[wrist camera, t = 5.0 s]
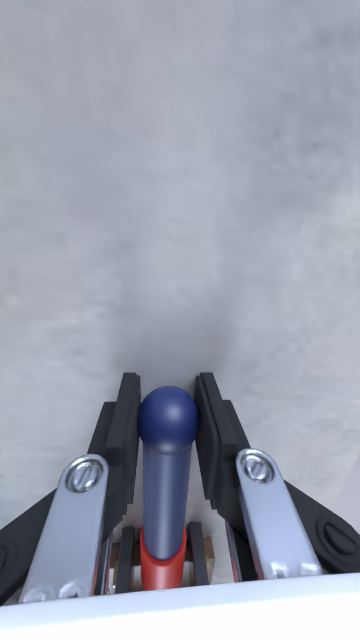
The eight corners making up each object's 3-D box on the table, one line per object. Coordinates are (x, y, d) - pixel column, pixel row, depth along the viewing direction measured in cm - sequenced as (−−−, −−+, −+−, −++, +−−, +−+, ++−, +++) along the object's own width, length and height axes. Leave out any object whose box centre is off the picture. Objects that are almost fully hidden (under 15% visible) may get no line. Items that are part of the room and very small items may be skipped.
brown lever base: (108, 528, 15) (84, 666, 10) (213, 521, 15) (237, 647, 11) (116, 604, 18) (101, 731, 14) (201, 596, 19) (214, 714, 14)
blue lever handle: (139, 374, 10) (132, 419, 8) (197, 374, 11) (208, 417, 8) (141, 544, 15) (137, 606, 13) (181, 541, 15) (185, 601, 13)
